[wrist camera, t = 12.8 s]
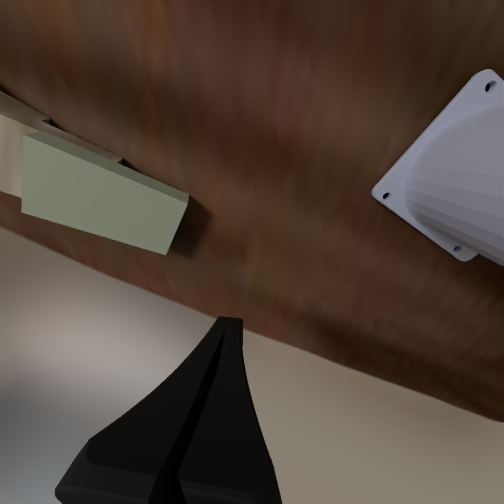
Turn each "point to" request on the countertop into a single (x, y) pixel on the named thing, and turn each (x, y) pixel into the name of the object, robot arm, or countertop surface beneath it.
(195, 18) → the countertop surface
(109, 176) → the domino
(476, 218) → the robot arm
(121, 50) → the countertop surface
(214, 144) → the countertop surface
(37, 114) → the domino
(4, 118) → the domino
